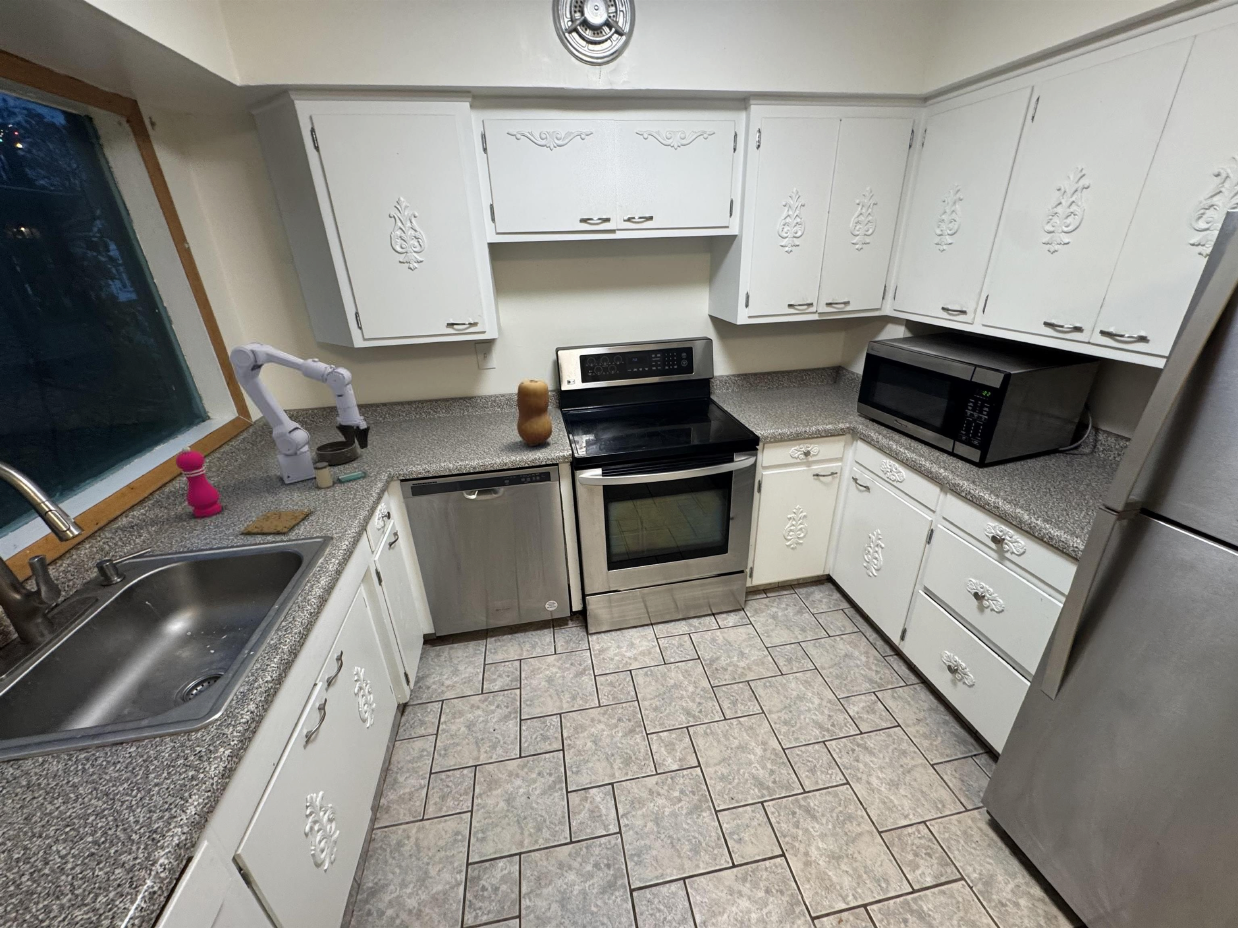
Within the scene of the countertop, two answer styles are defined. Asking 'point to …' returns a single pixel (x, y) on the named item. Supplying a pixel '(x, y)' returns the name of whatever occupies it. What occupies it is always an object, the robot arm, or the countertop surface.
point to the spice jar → (323, 474)
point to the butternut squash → (533, 412)
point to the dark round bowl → (336, 452)
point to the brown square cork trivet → (275, 522)
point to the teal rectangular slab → (351, 476)
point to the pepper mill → (198, 484)
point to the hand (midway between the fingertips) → (358, 446)
